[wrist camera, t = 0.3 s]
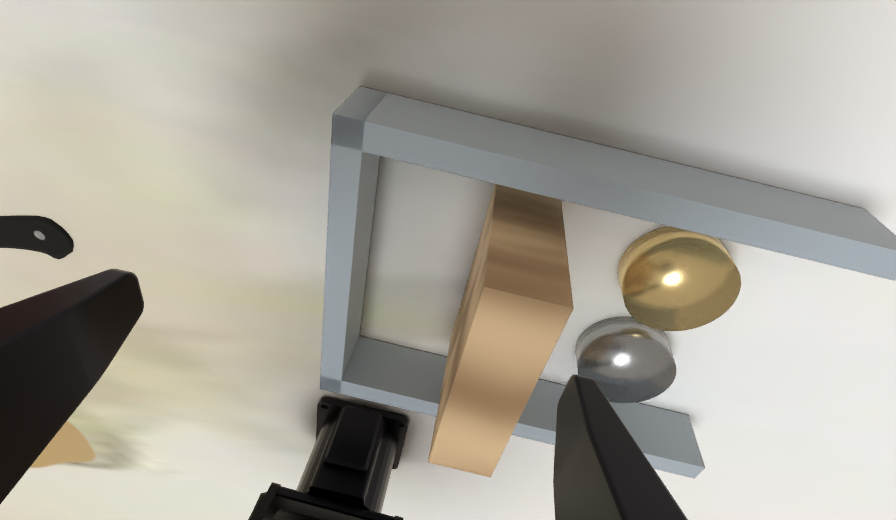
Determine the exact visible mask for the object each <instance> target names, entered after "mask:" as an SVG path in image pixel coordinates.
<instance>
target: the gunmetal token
mask: <svg viewBox="0 0 896 520" xmlns="http://www.w3.org/2000/svg"><path fill="white" fill-rule="evenodd" d="M576 358H577V367H578V375H581V376H585V377H589V378H592V379H593V380H595V382H596V383H597V384H598V386H599V387H600V389H601V390H602V392H603V393H604V395H605V396H606V398H607V399H608V401H609V402H614V403H635V402H641V401H645V400H648V399H651V398H653V397H656V396H657V395H659V394H661V393H662V392H664V391H665V390H666V389H667V388H668V387H669V386H670V385H671V384H672V382H673V381H674V379H675V376H676V365H675V362H674V359H673V355H672V352H671V349H670V346H669V343H668V340H667V338H666V335H665V334H664V332H663V331H662V330H658V329H654V328H651V327H648V326H646V325H643V324H642V323H640V322H638V321H637V320H636V319H634V318H633V317H614V318H609V319H605V320H602V321H600V322H597V323H595V324H594V325H592V326H590V327H589V328H587V329H586V330H585V331H584V332H583V333H582V334H581V336H580V337H579V339H578V341H577V344H576Z"/></svg>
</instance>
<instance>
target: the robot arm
mask: <svg viewBox="0 0 896 520" xmlns="http://www.w3.org/2000/svg"><path fill="white" fill-rule="evenodd" d="M143 308H144V301H143V297H142V293H141V289H140V285H139V282H138V278H137V276H136V275H135V274H134V273H132V272H128V271H124V270H119V269H109V270H106V271H103V272H101V273H98V274H95V275H92V276H89V277H86V278H84V279H81V280H78V281H75V282H72V283H69V284H67V285H64V286H61V287H58V288H55V289H52V290H50V291H47V292H44V293H41V294H38V295H35V296H33V297H30V298H27V299H24V300H21V301H19V302H16V303H13V304H10V305H7V306H4V307H2V308H0V504H1V503H2V501H3V500H4V499H5V498H6V496H7V495H8V494H9V493H10V491H11V490H12V489H13V488H14V486H15V485H16V484H17V483H18V481H19V480H20V479H21V478H22V476H23V475H24V474H25V472H26V471H27V470H28V469H29V467H30V466H31V465H32V464H33V462H34V461H35V460H36V459H37V457H38V456H39V455H40V454H41V452H42V451H43V450H44V449H45V447H46V446H47V445H48V443H49V442H50V441H51V440H52V438H53V437H54V436H55V435H56V433H57V432H58V431H59V430H60V428H61V427H62V426H63V425H64V423H65V422H66V421H67V420H68V418H69V417H70V416H71V415H72V413H73V412H74V411H75V410H76V408H77V407H78V406H79V405H80V403H81V402H82V401H83V400H84V398H85V397H86V396H87V395H88V393H89V392H90V391H91V390H92V388H93V387H94V386H95V384H96V383H97V382H98V380H99V379H100V378H101V376H102V375H103V373H104V372H105V370H106V369H107V367H108V366H109V364H110V363H111V361H112V360H113V358H114V356H115V355H116V353H117V352H118V350H119V349H120V347H121V346H122V344H123V342H124V341H125V339H126V338H127V336H128V335H129V333H130V331H131V330H132V328H133V327H134V325H135V324H136V322H137V320H138V319H139V317H140V316H141V314H142V311H143ZM408 424H409V420H408V418H406V417H404V416H401V415H396V414H392V413H388V412H384V411H380V410H376V409H371V408H367V407H363V406H359V405H355V404H350V403H346V402H342V401H338V400H334V399H330V398H321V399H320V401H319V403H318V407H317V431H316V443H315V445H314V448H313V450H312V453H311V455H310V458H309V460H308V463H307V465H306V468H305V470H304V472H303V475H302V477H301V480H300V482H299V485H298V487H297V490H293V489H289V488H285V487H282V486H281V485H280V484H277V483H273V482H272V484H271V486H270V487H269V489H268V491H267V492H265V493H261V494H260V497H259V499H258V501H257V503H256V505H255V507H254V510H253V512H252V514H251V516H250V517H249V519H248V520H403V518H402V517H399V516H395V517H393V516H389V515H385V514H382V513H381V511H382V507H383V503H384V498H385V494H386V490H387V486H388V482H389V478H390V474H391V470H392V469H396V468H397V467H398V464H399V460H400V456H401V452H402V448H403V444H404V440H405V436H406V432H407V428H408ZM553 483H554V504H555V520H688V519H687V518H686V516H685V515H684V513H683V512H682V510H681V509H680V507H679V506H678V504H677V503H676V501H675V500H674V498H673V497H672V495H671V494H670V492H669V491H668V489H667V488H666V486H665V485H664V483H663V482H662V480H661V479H660V477H659V476H658V474H657V473H656V471H655V470H654V468H653V467H652V465H651V464H650V462H649V461H648V459H647V458H646V456H645V455H644V453H643V452H642V450H641V449H640V447H639V446H638V444H637V443H636V441H635V440H634V438H633V437H632V435H631V434H630V432H629V431H628V429H627V428H626V426H625V425H624V423H623V422H622V420H621V419H620V417H619V416H618V414H617V413H616V411H615V410H614V408H613V407H612V405H611V404H610V402H609V401H608V399H607V398H606V396H605V395H604V393H603V392H602V390H601V389H600V387H599V386H598V384H597V383H596V382H595V380H593V379H592V378H589V377H585V376H581V375H573V376H571V378H570V379H569V381H568V383H567V385H566V387H565V389H564V391H563V393H562V395H561V397H560V399H559V402H558V406H557V418H556V437H555V457H554V480H553Z"/></svg>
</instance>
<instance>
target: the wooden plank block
mask: <svg viewBox="0 0 896 520" xmlns="http://www.w3.org/2000/svg"><path fill="white" fill-rule="evenodd" d="M572 310H573V301H572V292H571V283H570V275H569V266H568V257H567V249H566V240H565V231H564V223H563V214H562V205H561V200H560V199H556V198H552V197H548V196H544V195H539V194H535V193H531V192H527V191H523V190H519V189H515V188H511V187H506V186H502V185H498V184H495V188H494V191H493V195H492V198H491V202H490V205H489V209H488V212H487V215H486V219H485V222H484V226H483V229H482V233H481V236H480V240H479V243H478V247H477V250H476V254H475V257H474V261H473V264H472V268H471V271H470V274H469V278H468V281H467V285H466V288H465V292H464V295H463V299H462V302H461V306H460V309H459V313H458V316H457V320H456V323H455V326H454V330H453V333H452V337H451V341H450V346H449V351H448V357H447V362H446V368H445V373H444V379H443V384H442V389H441V395H440V400H439V406H438V411H437V416H436V422H435V427H434V433H433V438H432V444H431V449H430V454H429V460H428V462H429V463H433V464H437V465H442V466H446V467H450V468H454V469H458V470H462V471H467V472H471V473H475V474H479V475H483V476H487V477H491V475H492V473H493V471H494V469H495V467H496V465H497V463H498V461H499V459H500V457H501V455H502V453H503V451H504V449H505V447H506V445H507V443H508V441H509V439H510V437H511V435H512V433H513V430H514V428H515V426H516V424H517V422H518V420H519V418H520V416H521V414H522V412H523V410H524V408H525V406H526V404H527V402H528V400H529V398H530V396H531V394H532V392H533V390H534V388H535V386H536V384H537V382H538V380H539V377H540V375H541V373H542V371H543V369H544V367H545V365H546V363H547V361H548V359H549V357H550V355H551V353H552V351H553V349H554V347H555V345H556V343H557V341H558V339H559V337H560V335H561V333H562V331H563V329H564V327H565V324H566V322H567V320H568V318H569V316H570V314H571V312H572Z"/></svg>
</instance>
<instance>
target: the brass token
mask: <svg viewBox="0 0 896 520" xmlns="http://www.w3.org/2000/svg"><path fill="white" fill-rule="evenodd" d="M618 279H619V283H620V287H621V291H622V295H623V299H624V303H625V306H626V308H627V310H628V312H629V313H630V314H631V316H632V317H633V318H634V319H636V320H637V321H638V322H640V323H642V324H643V325H646V326H648V327H651V328H654V329H658V330H665V331H681V330H688V329H693V328H697V327H700V326H703V325H705V324H707V323H710V322H712V321H713V320H715V319H717V318H718V317H720V316H721V315H723V314H724V313H725V312H726V311H727V310H728V309H729V308H730V307H731V306H732V305H733V303H734V302H735V300H736V299H737V296H738V294H739V291H740V287H741V278H740V274H739V271H738V269H737V267H736V265H735V264H734V262H733V260H732V259H731V257H730V255H729V254H728V252H727V250H726V249H725V247H724V245H723V244H722V243H721V241H720V240H719V239H718V238H717V237H713V236H709V235H704V234H700V233H696V232H692V231H688V230H684V229H680V228H676V227H671V226H669V227H664V228H660V229H657V230H654V231H651V232H649V233H647V234H645V235H644V236H642V237H640V238H639V239H637V240H636V241H635V242H634V243H632V244H631V245H630V246H629V247H628V249H627V250H626V251H625V253H624V254H623V256H622V258H621V260H620V262H619V266H618Z"/></svg>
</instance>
